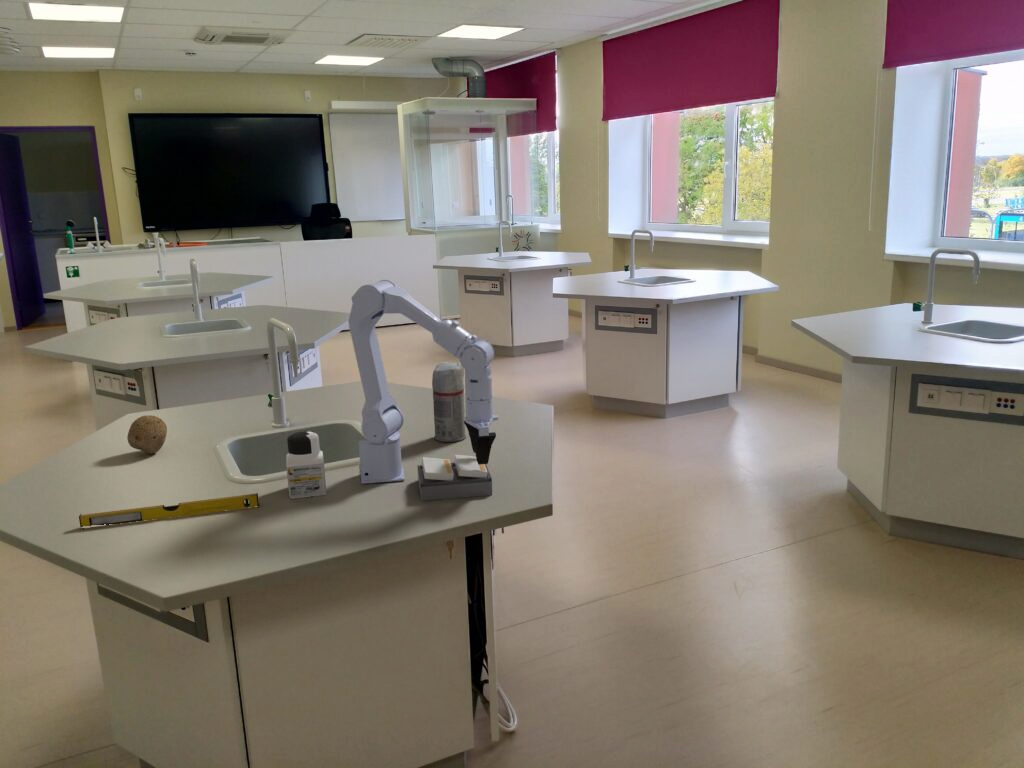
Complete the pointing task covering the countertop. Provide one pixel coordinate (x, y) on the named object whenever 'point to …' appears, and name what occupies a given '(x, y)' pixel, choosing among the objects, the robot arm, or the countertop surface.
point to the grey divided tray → (453, 486)
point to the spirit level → (169, 510)
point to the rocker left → (437, 469)
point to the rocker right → (470, 466)
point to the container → (305, 466)
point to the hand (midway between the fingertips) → (480, 457)
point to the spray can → (448, 401)
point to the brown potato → (147, 434)
